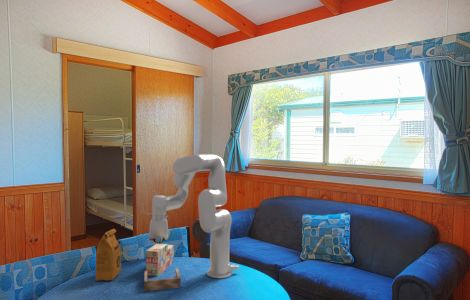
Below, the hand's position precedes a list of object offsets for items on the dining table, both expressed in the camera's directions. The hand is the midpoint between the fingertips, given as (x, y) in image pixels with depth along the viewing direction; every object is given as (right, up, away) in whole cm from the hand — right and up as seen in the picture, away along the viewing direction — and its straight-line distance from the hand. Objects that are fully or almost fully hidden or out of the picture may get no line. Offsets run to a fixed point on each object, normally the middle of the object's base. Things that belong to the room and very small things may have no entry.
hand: (158, 249), depth 188 cm
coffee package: (-17, -4, -30) cm, 34 cm away
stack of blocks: (+5, -5, -17) cm, 18 cm away
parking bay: (+10, -4, -36) cm, 38 cm away
